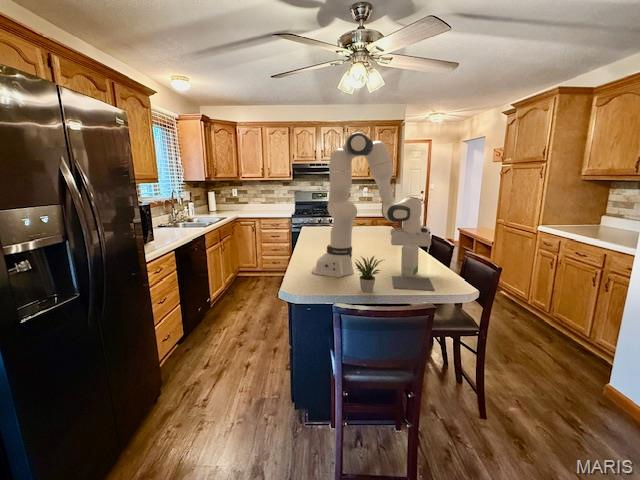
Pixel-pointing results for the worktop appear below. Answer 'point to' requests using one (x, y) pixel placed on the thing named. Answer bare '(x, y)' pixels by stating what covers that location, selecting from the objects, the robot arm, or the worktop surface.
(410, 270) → the skincare box
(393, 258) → the worktop surface
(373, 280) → the house plant
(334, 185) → the robot arm
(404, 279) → the mat
